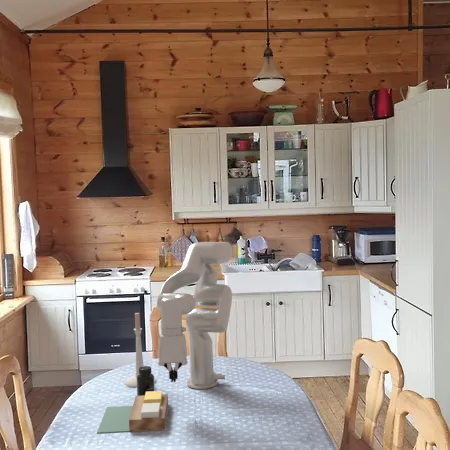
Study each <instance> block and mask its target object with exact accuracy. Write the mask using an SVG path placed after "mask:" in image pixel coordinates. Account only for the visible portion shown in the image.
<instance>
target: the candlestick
mask: <svg viewBox="0 0 450 450" xmlns="http://www.w3.org/2000/svg"><path fill="white" fill-rule="evenodd" d="M140 319H141V318H140V312H134V323H135V326H134V327H135V328H133V331H134V334H135V375H132V376H130V377H128V378H127V379H125V381H124V385H125V386H126V385H127V386H126V387H128V386H129V387H128V388H132V387H137V376H138V375H139V368H140V367H143V366H145V365H144V356H143V348H142V338H141V337H142V336H141V334H142V330H143V328H141V320H140ZM156 382H157V379H156V378H155V377H154V384H156Z"/></svg>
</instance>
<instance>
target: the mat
mask: <svg viewBox="0 0 450 450" xmlns="http://www.w3.org/2000/svg"><path fill="white" fill-rule="evenodd" d="M132 408H133V405H122V406H121V405H119V406H107V407H106V409H105V410H104V413H103V416H102V418H101V422H100V423H99V426H98V429H97V432H96V434H111V433H127V432H131V431H130V430H129V418H130V415H131V411H132Z"/></svg>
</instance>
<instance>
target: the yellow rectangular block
mask: <svg viewBox="0 0 450 450" xmlns="http://www.w3.org/2000/svg"><path fill="white" fill-rule="evenodd" d="M162 394H163V391H162V390H155V391H148V392H146V393H145V398H144V403H160V404H161V401H162Z"/></svg>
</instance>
